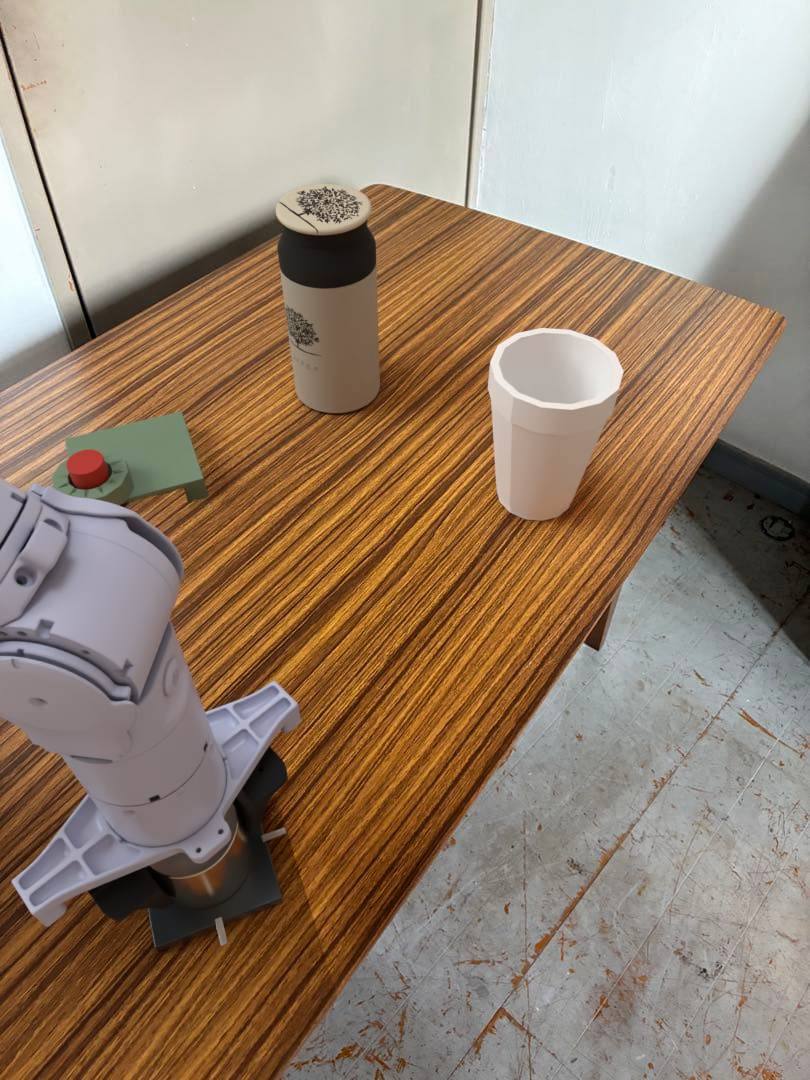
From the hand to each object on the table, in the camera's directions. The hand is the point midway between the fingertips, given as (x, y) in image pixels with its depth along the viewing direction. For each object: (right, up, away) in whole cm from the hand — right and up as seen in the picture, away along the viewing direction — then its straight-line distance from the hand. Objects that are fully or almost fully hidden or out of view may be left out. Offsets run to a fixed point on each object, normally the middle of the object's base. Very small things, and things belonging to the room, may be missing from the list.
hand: (201, 855), depth 45 cm
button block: (-11, +23, +24) cm, 35 cm away
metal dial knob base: (0, -2, +3) cm, 3 cm away
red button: (-13, +23, +19) cm, 32 cm away
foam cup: (+22, +21, +23) cm, 38 cm away
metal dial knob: (0, 0, +1) cm, 1 cm away
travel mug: (+5, +32, +32) cm, 45 cm away
